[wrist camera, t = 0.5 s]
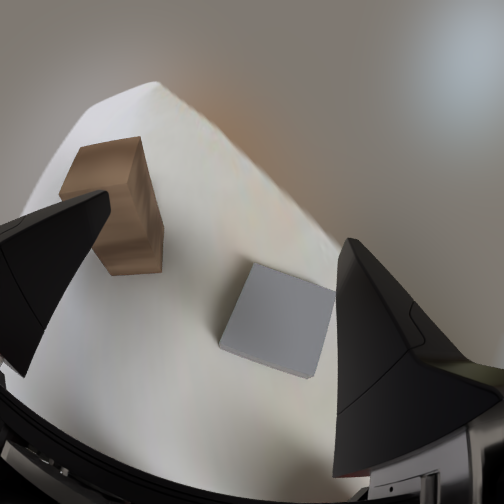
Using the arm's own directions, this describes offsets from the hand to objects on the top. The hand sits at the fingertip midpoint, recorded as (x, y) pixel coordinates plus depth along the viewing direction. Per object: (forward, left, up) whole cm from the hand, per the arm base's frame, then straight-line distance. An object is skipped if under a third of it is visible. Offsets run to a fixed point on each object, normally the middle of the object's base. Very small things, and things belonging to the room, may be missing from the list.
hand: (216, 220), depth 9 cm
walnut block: (+3, +12, -16) cm, 21 cm away
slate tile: (+3, -4, -17) cm, 17 cm away
